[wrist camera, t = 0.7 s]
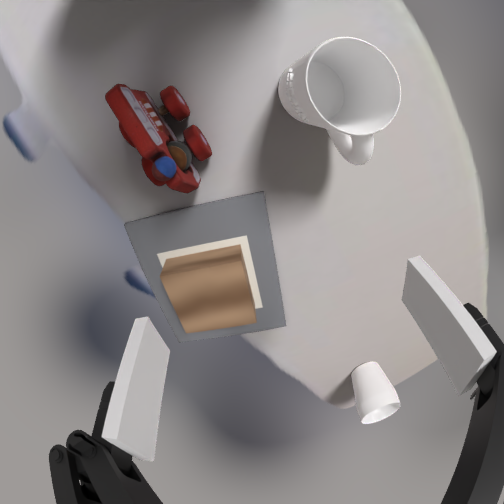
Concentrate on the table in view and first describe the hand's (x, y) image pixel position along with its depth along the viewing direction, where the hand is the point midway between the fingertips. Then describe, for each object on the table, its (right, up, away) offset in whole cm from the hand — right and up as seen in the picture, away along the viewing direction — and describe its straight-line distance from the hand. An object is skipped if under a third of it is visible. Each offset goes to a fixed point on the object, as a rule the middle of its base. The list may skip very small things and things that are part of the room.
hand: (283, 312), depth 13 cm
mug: (+6, +19, +14) cm, 25 cm away
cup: (+23, -23, +40) cm, 52 cm away
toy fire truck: (-11, +16, +15) cm, 25 cm away
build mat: (-7, -1, +25) cm, 26 cm away
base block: (-7, -1, +24) cm, 25 cm away
